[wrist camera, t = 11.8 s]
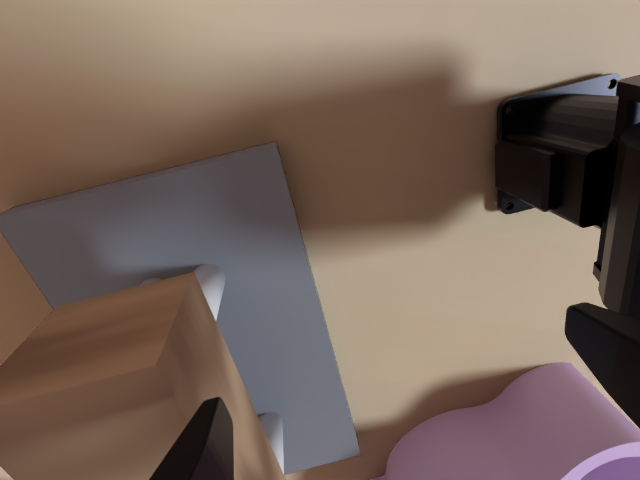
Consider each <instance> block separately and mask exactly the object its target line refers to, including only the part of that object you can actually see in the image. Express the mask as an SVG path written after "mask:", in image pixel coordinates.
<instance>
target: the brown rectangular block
mask: <svg viewBox="0 0 640 480" xmlns="http://www.w3.org/2000/svg"><path fill="white" fill-rule="evenodd" d="M215 397H221V398H222V399H223V401H224V403H225V405H226V407H227V409H228V411H229V413H230V415H231V418H232V421H233V439H234V480H286V479H285V476H284V474H283V472H282V470H281V467H280V465H279V463H278V461H277V458H276V456H275V454H274V451H273V449H272V447H271V445H270V442H269V440H268V438H267V436H266V433H265V431H264V429H263V427H262V424H261V422H260V420H259V418H258V415H257V413H256V411H255V409H254V406H253V404H252V402H251V400H250V397H249V395H248V393H247V390H246V388H245V386H244V384H243V381H242V379H241V377H240V375H239V372H238V370H237V368H236V366H235V363H234V361H233V359H232V357H231V354H230V352H229V350H228V348H227V345H226V343H225V341H224V339H223V336H222V334H221V332H220V330H219V327H218V325H217V323H216V320H215V318H214V316H213V314H212V311H211V309H210V307H209V305H208V302H207V300H206V298H205V296H204V293H203V291H202V289H201V287H200V284H199V282H198V280H197V278H196V275H195V273H194V272H191V273H187V274H184V275H180V276H176V277H172V278H168V279H164V280H160V281H156V282H152V283H148V284H144V285H140V286H136V287H133V288H129V289H125V290H121V291H117V292H113V293H109V294H105V295H101V296H97V297H93V298H89V299H85V300H82V301H78V302H74V303H70V304H66V305H62V306H58V307H56V308H55V309H54V310H53V311H52V312H51V313H50V314H49V315H48V316H47V317H46V319H45V320H44V321H43V322H42V323H41V324H40V325H39V326H38V327H37V328H36V329H35V330H34V331H33V332H32V333H31V334H30V336H29V337H28V338H27V339H26V340H25V341H24V342H23V343H22V344H21V345H20V346H19V347H18V348H17V349H16V350H15V352H14V353H13V354H12V355H11V356H10V357H9V358H8V359H7V360H6V361H5V362H4V363H3V364H2V365H1V366H0V466H1V467H2V468H3V469H4V470H5V471H6V472H7V473H8V474H9V475H10V476H11V477H12V478H13V479H14V480H149V479H150V477H151V476H152V474H153V473H154V471H155V470H156V468H157V467H158V466H159V464H160V463H161V461H162V460H163V458H164V457H165V456H166V454H167V453H168V451H169V450H170V448H171V447H172V445H173V444H174V443H175V441H176V440H177V438H178V437H179V435H180V434H181V432H182V431H183V430H184V428H185V427H186V425H187V424H188V422H189V421H190V420H191V418H192V417H193V415H194V414H195V412H196V411H197V409H198V408H199V407H200V405H201V404H202V402H203V401H205V400H207V399H211V398H215Z"/></svg>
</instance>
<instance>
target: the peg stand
mask: <svg viewBox="0 0 640 480" xmlns="http://www.w3.org/2000/svg"><path fill="white" fill-rule="evenodd" d="M0 231H1V233H2V234H3V236H4V237H5V239H6V240H7V242H8V243H9V245H10V246H11V248H12V249H13V251H14V252H15V254H16V255H17V256H18V258H19V259H20V261H21V262H22V264H23V265H24V267H25V268H26V270H27V271H28V273H29V274H30V276H31V277H32V279H33V280H34V281H35V283H36V284H37V286H38V287H39V289H40V290H41V292H42V293H43V295H44V296H45V298H46V299H47V301H48V302H49V304H50V305H51V306H52V308H53V309H55V308H56V307H58V306H62V305H66V304H70V303H74V302H78V301H82V300H85V299H89V298H93V297H97V296H101V295H105V294H109V293H113V292H117V291H121V290H125V289H129V288H133V287H136V286H140V285H144V284H148V283H152V282H156V281H160V280H164V279H168V278H172V277H176V276H180V275H184V274H187V273H191V272H194V273H195V275H196V278H197V280H198V282H199V284H200V287H201V289H202V291H203V293H204V296H205V298H206V300H207V302H208V305H209V307H210V309H211V311H212V314H213V316H214V318H215V320H216V323H217V325H218V327H219V330H220V332H221V334H222V336H223V339H224V341H225V343H226V345H227V348H228V350H229V352H230V354H231V357H232V359H233V361H234V363H235V366H236V368H237V370H238V372H239V375H240V377H241V379H242V381H243V384H244V386H245V388H246V390H247V393H248V395H249V397H250V400H251V402H252V404H253V406H254V409H255V411H256V413H257V415H258V418H259V420H260V422H261V424H262V427H263V429H264V431H265V433H266V436H267V438H268V440H269V442H270V445H271V447H272V449H273V451H274V454H275V456H276V458H277V461H278V463H279V465H280V467H281V470H282V472H283V474H284V475H286V474H290V473H294V472H298V471H301V470H305V469H309V468H313V467H317V466H321V465H324V464H328V463H332V462H336V461H340V460H344V459H348V458H351V457H355V456H359V455H361V453H360V449H359V444H358V440H357V436H356V432H355V428H354V425H353V421H352V417H351V414H350V410H349V406H348V403H347V399H346V395H345V392H344V388H343V384H342V381H341V377H340V373H339V370H338V366H337V362H336V359H335V355H334V351H333V348H332V344H331V340H330V337H329V333H328V329H327V326H326V322H325V318H324V315H323V311H322V308H321V304H320V300H319V297H318V293H317V289H316V286H315V282H314V278H313V275H312V271H311V267H310V264H309V260H308V256H307V253H306V249H305V245H304V242H303V238H302V234H301V231H300V227H299V223H298V220H297V216H296V212H295V209H294V205H293V201H292V198H291V194H290V190H289V187H288V183H287V179H286V176H285V172H284V168H283V165H282V161H281V157H280V154H279V150H278V146H277V143H276V141H275V142H271V143H267V144H263V145H260V146H256V147H252V148H248V149H244V150H240V151H236V152H232V153H228V154H224V155H220V156H216V157H212V158H208V159H204V160H200V161H196V162H192V163H188V164H184V165H180V166H176V167H172V168H168V169H164V170H160V171H156V172H152V173H148V174H144V175H140V176H136V177H132V178H128V179H124V180H120V181H116V182H112V183H109V184H105V185H101V186H97V187H93V188H89V189H85V190H81V191H77V192H73V193H69V194H65V195H61V196H57V197H53V198H49V199H45V200H41V201H37V202H33V203H29V204H25V205H21V206H17V207H13V208H11V209H9V210H7V211H5V212H3V213H1V214H0Z"/></svg>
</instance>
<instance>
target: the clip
mask: <svg viewBox="0 0 640 480" xmlns="http://www.w3.org/2000/svg"><path fill="white" fill-rule="evenodd" d="M369 480H640V430H639V429H638V428H637V427H636V426H635V425H634V424H633V423H632V422H631V421H630V420H629V419H628V418H627V417H626V416H625V415H623V414H622V413H621V412H620V411H619V410H618V409H617V408H616V407H615V406H614V405H613V404H612V403H611V402H610V401H609V400H608V399H607V398H606V397H605V396H604V395H603V394H602V393H601V392H600V391H599V390H598V389H597V388H596V387H595V386H594V385H593V384H592V383H591V382H590V381H589V380H588V379H587V378H585V377H584V376H583V375H582V374H581V373H580V372H579V371H578V370H577V369H576V368H575V367H574V366H573V365H572V364H571V363H564V362H560V363H551V364H546V365H543V366H539V367H537V368H534V369H532V370H530V371H528V372H526V373H524V374H523V375H521V376H519V377H518V378H517V379H515V380H514V381H513V382H512V383H511V384H510V385H509V386H508V387H507V388H506V389H505V390H504V391H503V392H502V393H501V394H500V395H499V396H498V397H496V398H495V399H493V400H492V401H490V402H488V403H486V404H483V405H480V406H476V407H469V408H461V409H456V410H452V411H448V412H444V413H442V414H439V415H436V416H434V417H432V418H429V419H427V420H425V421H424V422H422V423H420V424H419V425H417V426H415V427H414V428H413V429H411V430H410V431H409V432H408V433H406V434H405V435H404V436H403V437H402V438H401V439H400V440H399V441H398V443H397V444H396V445H395V446H394V448H393V449H392V451H391V453H390V455H389V458H388V461H387V465H386V474H385V475H383V476H381V477H375V478H371V479H369Z"/></svg>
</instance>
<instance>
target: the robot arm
mask: <svg viewBox="0 0 640 480" xmlns="http://www.w3.org/2000/svg"><path fill="white" fill-rule="evenodd" d="M609 81H610V82H611V83H610V86H609V87H608V82H609ZM509 105H510V106H511V110H510V112H509V113H506V109H507V107H508V106H509ZM495 185H496V187H497V188H498V209H499V210H500V211H501V212H503V213H504V214H512V213H516V212H520V211H524V210H528V209H532V208H537V209H539V210H541V211H543V212H547V211H550V212H552V213H554V214H556V215H558V216H560V217H562V218H564V219H566V220H568V221H570V222H572V223H574V224H576V225H578V226H580V227H582V228H585V227H589V226H595V227H597V228H599V229H601V235H600V242H599V250H598V257H597V261H596V262H595V263H594V267H593V274H594V275H595V277H596V278H597V279H598V281H599V289H598V290H599V293H600V296H601V299H602V302H603V304H604V305H605V306H606V307H607V308H608V309H605V308H602V307H599V306H596V305H593V304H590V303H579V304H575V305H572V306H569V307H568V309H567V311H566V321H565V335H566V338H567V340H568V341H569V343H570V344H571V345H572V347H573V348H574V349H575V351H576V352H577V353H578V355H579V356H580V357H581V358H582V360H583V361H584V362H585V364H586V365H587V366H588V368H589V369H590V370H591V372H592V373H593V374H594V376H595V377H596V378H597V380H598V381H599V382H600V384H601V385H602V386H603V388H604V389H605V390H606V391H607V393H608V394H609V395H610V396H611V397H612V398H613V400H614V401H615V402H616V403H617V404H618V405H619V406H620V407H621V409H622V410H623V411H624V412H625V413H626V414H627V415H628V416H629V417H630V419H631V420H632V421H633V422H634V423H635V424H636V425H637V426H638V427H639V428H640V75H637V76H633V77H629V78H625V79H621V77H620V75H619V74H604V75H600V76H596V77H592V78H588V79H584V80H580V81H577V82H573V83H569V84H565V85H561V86H557V87H553V88H549V89H545V90H541V91H537V92H533V93H529V94H525V95H521V96H517V97H513V98H509V99H506V100H504V101H502V102H501V103H500V104H499V106H498V110H497V143H496V145H495ZM509 202H510V205H509V206H508V207H507V208H506V205H507V204H508V203H509ZM149 480H234V439H233V421H232V418H231V415H230V413H229V411H228V409H227V407H226V405H225V403H224V401H223V399H222V398H221V397H215V398H211V399H207V400H205V401H203V402H202V404H201V405H200V407H199V408H198V409H197V411H196V412H195V414H194V415H193V417H192V418H191V420H190V421H189V422H188V424H187V425H186V427H185V428H184V430H183V431H182V432H181V434H180V435H179V437H178V438H177V440H176V441H175V443H174V444H173V445H172V447H171V448H170V450H169V451H168V453H167V454H166V456H165V457H164V458H163V460H162V461H161V463H160V464H159V466H158V467H157V468H156V470H155V471H154V473H153V474H152V476H151V477H150V479H149Z"/></svg>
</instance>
